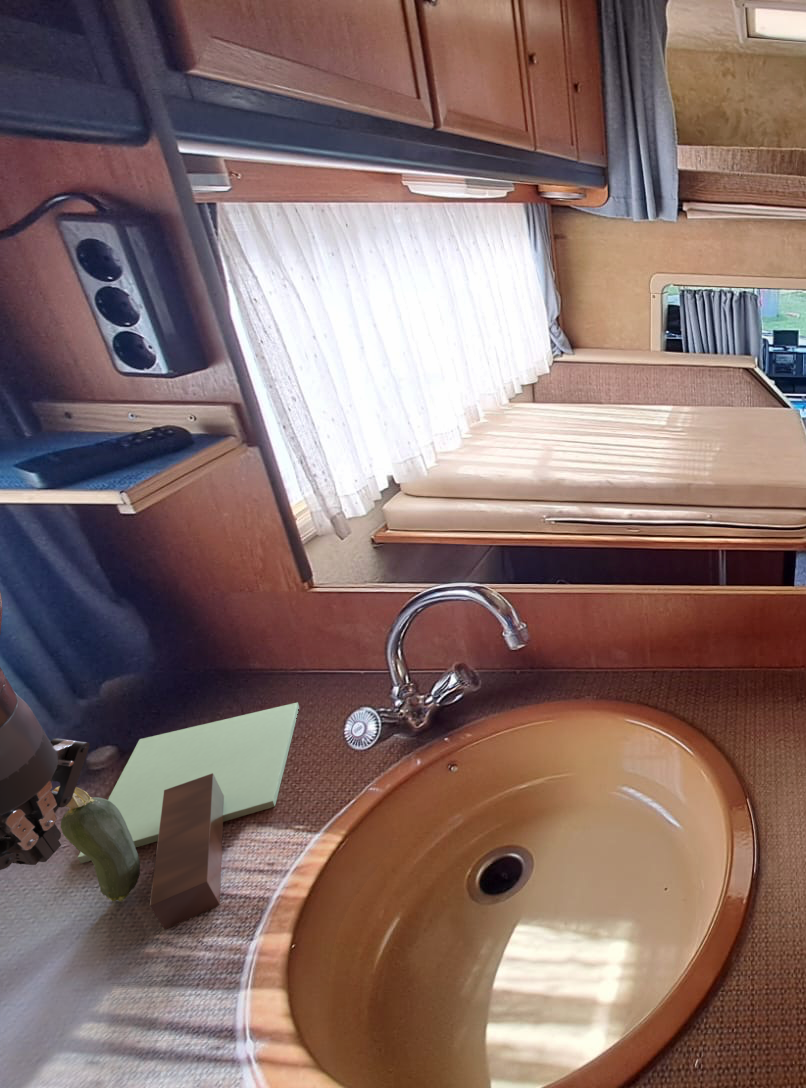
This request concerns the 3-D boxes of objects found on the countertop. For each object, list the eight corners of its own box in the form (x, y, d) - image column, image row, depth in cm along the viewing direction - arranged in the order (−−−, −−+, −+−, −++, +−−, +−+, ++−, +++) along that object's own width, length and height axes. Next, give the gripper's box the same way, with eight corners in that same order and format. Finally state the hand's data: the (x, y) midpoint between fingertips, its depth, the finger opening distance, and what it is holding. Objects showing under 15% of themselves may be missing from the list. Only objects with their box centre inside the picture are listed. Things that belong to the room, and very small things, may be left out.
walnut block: (149, 906, 72) (163, 790, 84) (164, 929, 74) (176, 813, 86) (207, 881, 75) (213, 772, 87) (220, 905, 77) (224, 795, 89)
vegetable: (148, 871, 80) (91, 758, 72) (161, 890, 78) (104, 776, 70) (100, 900, 76) (34, 784, 69) (112, 920, 74) (46, 803, 67)
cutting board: (80, 863, 80) (77, 857, 80) (142, 744, 98) (139, 739, 97) (275, 806, 90) (273, 800, 89) (299, 707, 107) (297, 702, 107)
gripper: (-4, 674, 53) (60, 779, 62) (-205, 833, 42) (-91, 931, 51) (100, 690, 54) (147, 790, 64) (-68, 847, 44) (18, 940, 53)
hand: (41, 853), depth 57 cm, fingers closed
